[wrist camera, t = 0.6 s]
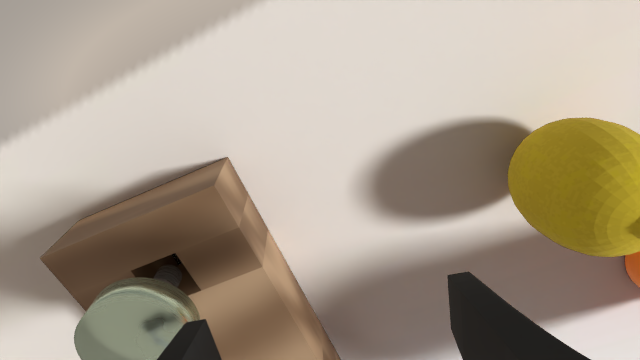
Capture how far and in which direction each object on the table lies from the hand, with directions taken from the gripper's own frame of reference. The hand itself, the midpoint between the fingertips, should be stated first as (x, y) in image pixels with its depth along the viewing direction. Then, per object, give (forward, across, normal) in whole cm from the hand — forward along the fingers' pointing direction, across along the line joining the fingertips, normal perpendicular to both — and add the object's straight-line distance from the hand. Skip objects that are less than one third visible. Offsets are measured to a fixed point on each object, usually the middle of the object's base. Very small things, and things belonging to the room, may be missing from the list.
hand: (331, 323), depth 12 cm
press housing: (+10, +7, +7) cm, 14 cm away
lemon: (+10, -12, +1) cm, 16 cm away
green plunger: (+7, +8, +2) cm, 11 cm away
